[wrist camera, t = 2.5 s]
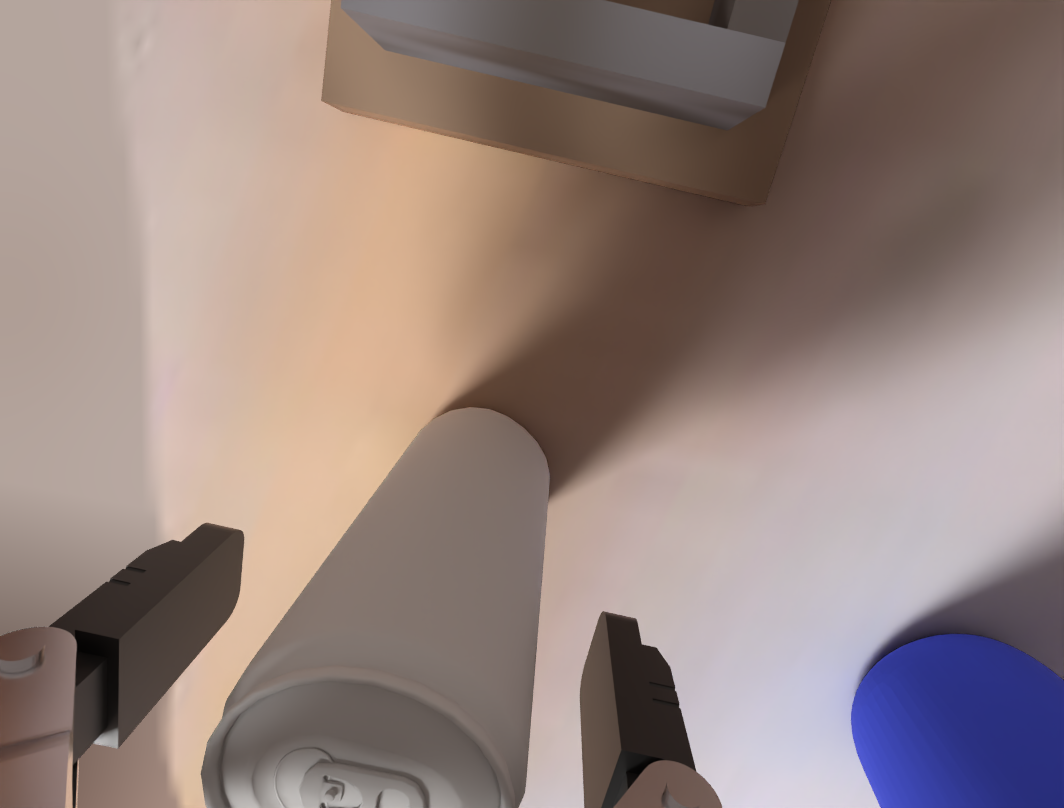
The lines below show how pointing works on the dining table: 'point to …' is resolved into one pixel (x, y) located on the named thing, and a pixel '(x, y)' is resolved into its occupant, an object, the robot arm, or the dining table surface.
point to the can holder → (588, 80)
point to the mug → (961, 726)
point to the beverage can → (405, 642)
